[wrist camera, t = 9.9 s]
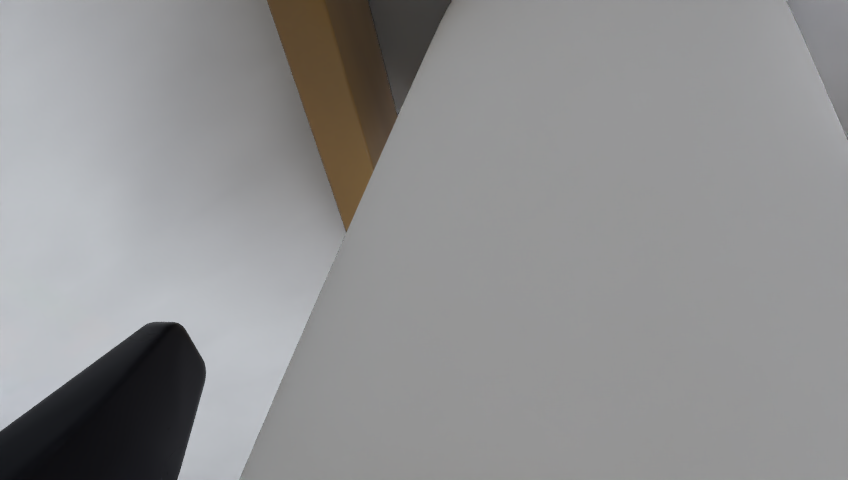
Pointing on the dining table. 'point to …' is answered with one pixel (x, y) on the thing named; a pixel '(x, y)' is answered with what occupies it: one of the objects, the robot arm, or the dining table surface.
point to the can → (587, 260)
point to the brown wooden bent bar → (339, 88)
